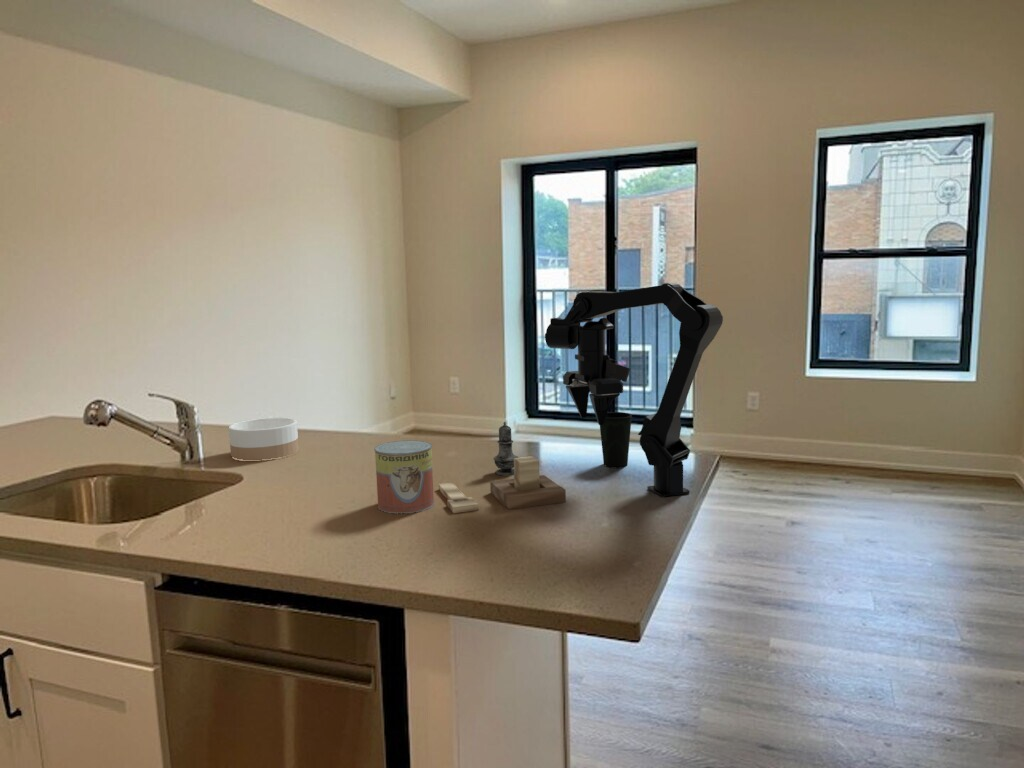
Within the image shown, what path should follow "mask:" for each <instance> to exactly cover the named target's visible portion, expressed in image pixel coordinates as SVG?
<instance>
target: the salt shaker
mask: <svg viewBox="0 0 1024 768" xmlns="http://www.w3.org/2000/svg"><path fill="white" fill-rule="evenodd" d="M513 442H514V440H512V428H511V427H510V426H509V425H507V423H506V421H504V422H503V424H502V426H500V427H499V428H498V441H497V443H498V453H497V455H495V456H494V457H493V458H492V459H493V461H494V464H495V466H496V468H498V469H497V470H496V471H495V472H494V474H495V475H496V474H497V476H500V475H501V476H502V477H508V476H507V475H510V476H514V458H520V457H519V455H516V454H514V452H513ZM501 476H500V477H501Z"/></svg>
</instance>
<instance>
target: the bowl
mask: <svg viewBox="0 0 1024 768" xmlns="http://www.w3.org/2000/svg"><path fill="white" fill-rule="evenodd" d="M228 439H229V445H230V446H229V447H230V457H231V456H232V457H234V458H237V459H243V460H262V459H271V458H278V457H283V456H287V455H290V454H294V453H295V452H297V451H298V450H300V449H299V433H298V421H297V420H296V419H294V418H288V417H265V418H264V417H263V418H254V419H247V420H246V419H245V420H242V421H238V422H235V423H232V424H230V425H229V426H228ZM298 452H299V451H298Z"/></svg>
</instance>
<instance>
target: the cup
mask: <svg viewBox="0 0 1024 768" xmlns="http://www.w3.org/2000/svg"><path fill="white" fill-rule="evenodd" d="M632 417H633V415H632V414H631V413H628V412H622V411H608V413H607V416H606V420H605V423H604V425H599V432H600V441H601V451H602V459H603V466H604V465H606V466H609V467H608V468H611V467H616V468H620V467H621V468H626V467H628V464H629V462H628V461H629V451H630V440H631V430H632V429H631V428H632ZM606 466H605V467H606Z"/></svg>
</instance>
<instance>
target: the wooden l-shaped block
mask: <svg viewBox="0 0 1024 768" xmlns="http://www.w3.org/2000/svg"><path fill="white" fill-rule="evenodd" d="M438 491H440V493H441V494H442V495H443V496H444V497H445V499H446V500H447V501H446V503H447V504H446V505H447V507H448V509H449V510H450V511H451V512H452V514H457V513H465V512H467V513H468V512H473V511H479V503H478V502H477V501H476V500H475V499H474V498H473V497H472V496H469V497H467V496H466V495H465V494H464V493H463V492H462V491H461V490H460V489H459V488H458V487H457V486H456V484H454V483H453V482H444V483H443V482H442V483H438Z"/></svg>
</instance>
